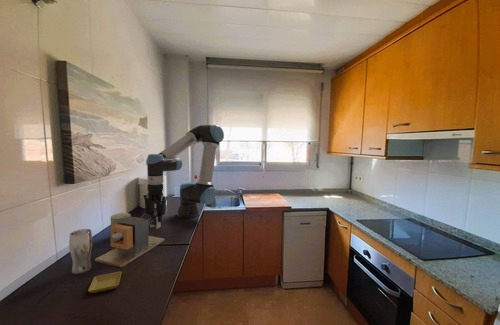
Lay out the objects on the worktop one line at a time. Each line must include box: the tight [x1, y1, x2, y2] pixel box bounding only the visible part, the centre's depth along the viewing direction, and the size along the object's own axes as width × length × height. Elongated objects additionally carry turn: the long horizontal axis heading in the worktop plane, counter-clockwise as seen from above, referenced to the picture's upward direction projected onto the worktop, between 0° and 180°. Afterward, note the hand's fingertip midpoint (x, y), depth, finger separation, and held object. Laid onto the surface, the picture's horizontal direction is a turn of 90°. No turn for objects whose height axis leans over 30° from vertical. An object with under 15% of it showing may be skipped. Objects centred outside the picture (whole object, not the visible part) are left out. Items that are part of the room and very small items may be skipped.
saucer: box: [87, 271, 123, 294], centre depth 74 cm, size 9×9×2 cm
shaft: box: [110, 212, 157, 241], centre depth 102 cm, size 27×3×5 cm, turn 164°
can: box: [109, 212, 132, 226], centre depth 112 cm, size 9×9×12 cm
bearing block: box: [94, 216, 165, 268], centre depth 99 cm, size 26×14×14 cm, turn 164°
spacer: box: [109, 224, 133, 250], centre depth 93 cm, size 3×9×9 cm, turn 74°
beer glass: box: [68, 228, 93, 275], centre depth 82 cm, size 7×7×15 cm
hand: (155, 227), depth 113 cm, fingers closed on shaft, 3 cm apart
